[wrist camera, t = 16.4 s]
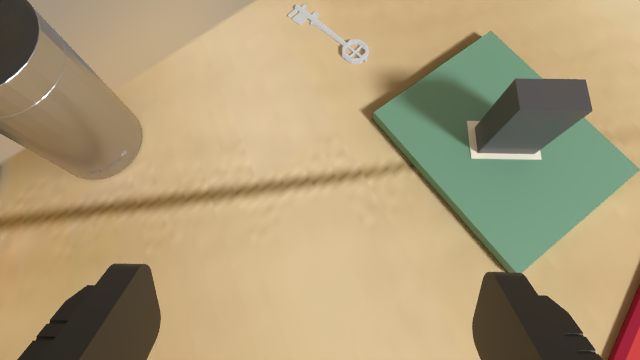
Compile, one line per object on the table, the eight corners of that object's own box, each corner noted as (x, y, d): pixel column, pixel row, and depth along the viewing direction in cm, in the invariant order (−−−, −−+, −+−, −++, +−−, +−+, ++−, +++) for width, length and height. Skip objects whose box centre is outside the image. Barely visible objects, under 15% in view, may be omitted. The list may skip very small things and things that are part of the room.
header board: (372, 118, 45) (377, 98, 41) (485, 39, 49) (501, 12, 44) (511, 276, 40) (534, 272, 35) (629, 174, 43) (663, 159, 39)
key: (357, 72, 48) (375, 55, 48) (357, 67, 47) (376, 49, 47) (286, 17, 50) (304, 2, 51) (285, 11, 49) (303, -4, 50)
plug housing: (534, 154, 42) (592, 110, 33) (477, 153, 42) (520, 109, 33) (530, 128, 43) (585, 79, 34) (474, 127, 43) (515, 78, 34)
